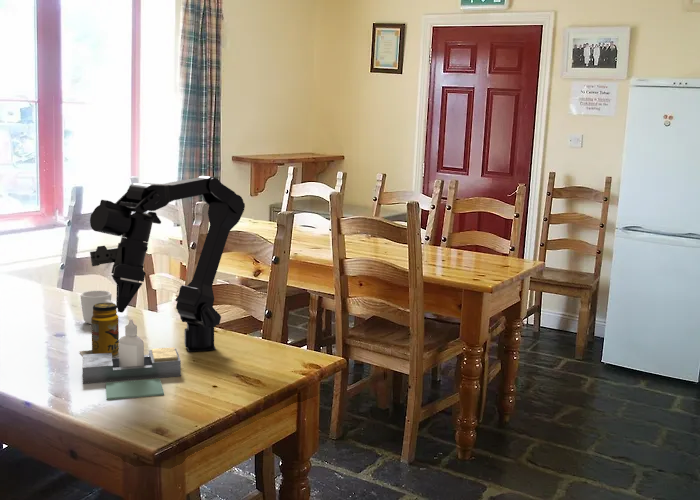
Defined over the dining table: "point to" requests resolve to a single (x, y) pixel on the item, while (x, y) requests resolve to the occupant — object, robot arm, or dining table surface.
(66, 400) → the dining table surface
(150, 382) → the mat
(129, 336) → the eye dropper bottle
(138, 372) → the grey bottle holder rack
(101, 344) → the condiment
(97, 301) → the cup
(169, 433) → the dining table surface
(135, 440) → the dining table surface
